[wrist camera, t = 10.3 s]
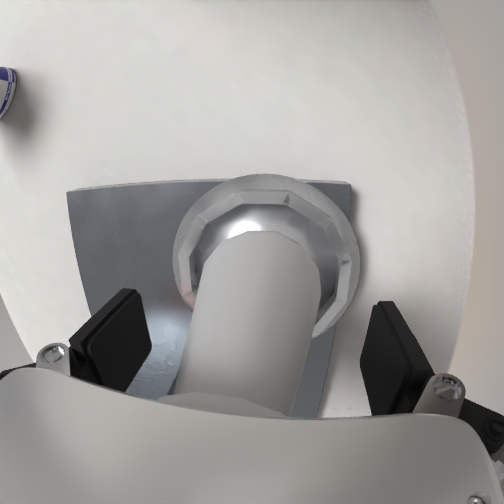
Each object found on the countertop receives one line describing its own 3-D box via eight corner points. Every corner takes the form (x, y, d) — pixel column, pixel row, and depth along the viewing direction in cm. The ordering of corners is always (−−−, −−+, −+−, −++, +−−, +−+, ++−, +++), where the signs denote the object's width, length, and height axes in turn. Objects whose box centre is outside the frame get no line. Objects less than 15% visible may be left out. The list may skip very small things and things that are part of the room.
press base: (78, 183, 17) (-13, 210, 9) (360, 176, 15) (428, 201, 7) (130, 392, 24) (94, 453, 16) (322, 415, 22) (325, 495, 14)
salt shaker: (335, 281, 15) (391, 522, 3) (255, 329, 17) (209, 541, 5) (274, 196, 14) (199, 430, 2) (192, 257, 16) (42, 450, 4)
